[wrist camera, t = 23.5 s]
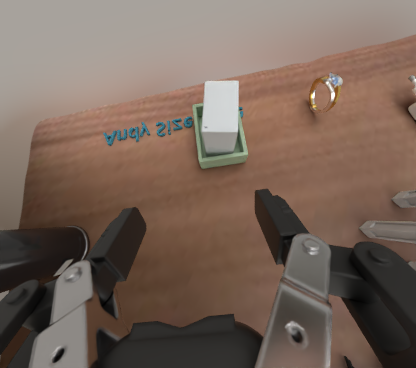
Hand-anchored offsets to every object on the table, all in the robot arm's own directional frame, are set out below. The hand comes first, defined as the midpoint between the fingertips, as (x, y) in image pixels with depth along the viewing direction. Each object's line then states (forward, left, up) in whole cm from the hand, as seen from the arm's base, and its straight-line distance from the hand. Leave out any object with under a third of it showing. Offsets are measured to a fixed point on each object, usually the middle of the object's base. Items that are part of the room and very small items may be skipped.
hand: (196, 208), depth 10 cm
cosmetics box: (+4, +18, -22) cm, 29 cm away
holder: (+4, +18, -23) cm, 29 cm away
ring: (+27, +22, -23) cm, 42 cm away
